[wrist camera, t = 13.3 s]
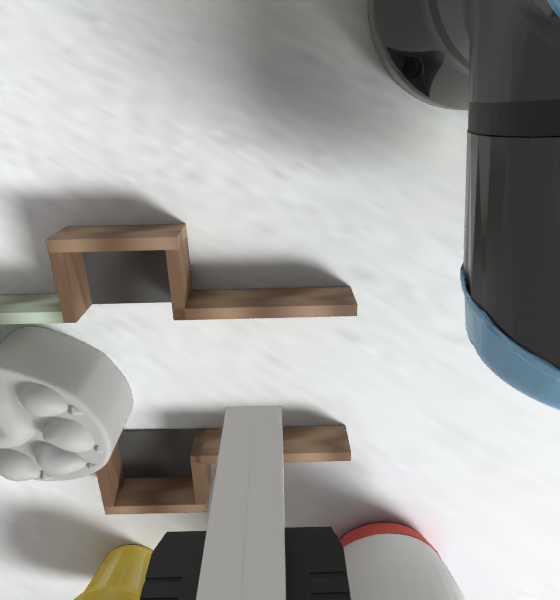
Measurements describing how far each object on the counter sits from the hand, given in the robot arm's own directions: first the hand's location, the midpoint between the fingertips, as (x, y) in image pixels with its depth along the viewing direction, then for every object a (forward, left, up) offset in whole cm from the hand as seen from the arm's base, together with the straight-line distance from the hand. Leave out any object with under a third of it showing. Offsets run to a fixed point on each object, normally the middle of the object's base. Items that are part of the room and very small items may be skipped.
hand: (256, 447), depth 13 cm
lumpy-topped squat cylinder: (+20, +17, -30) cm, 39 cm away
